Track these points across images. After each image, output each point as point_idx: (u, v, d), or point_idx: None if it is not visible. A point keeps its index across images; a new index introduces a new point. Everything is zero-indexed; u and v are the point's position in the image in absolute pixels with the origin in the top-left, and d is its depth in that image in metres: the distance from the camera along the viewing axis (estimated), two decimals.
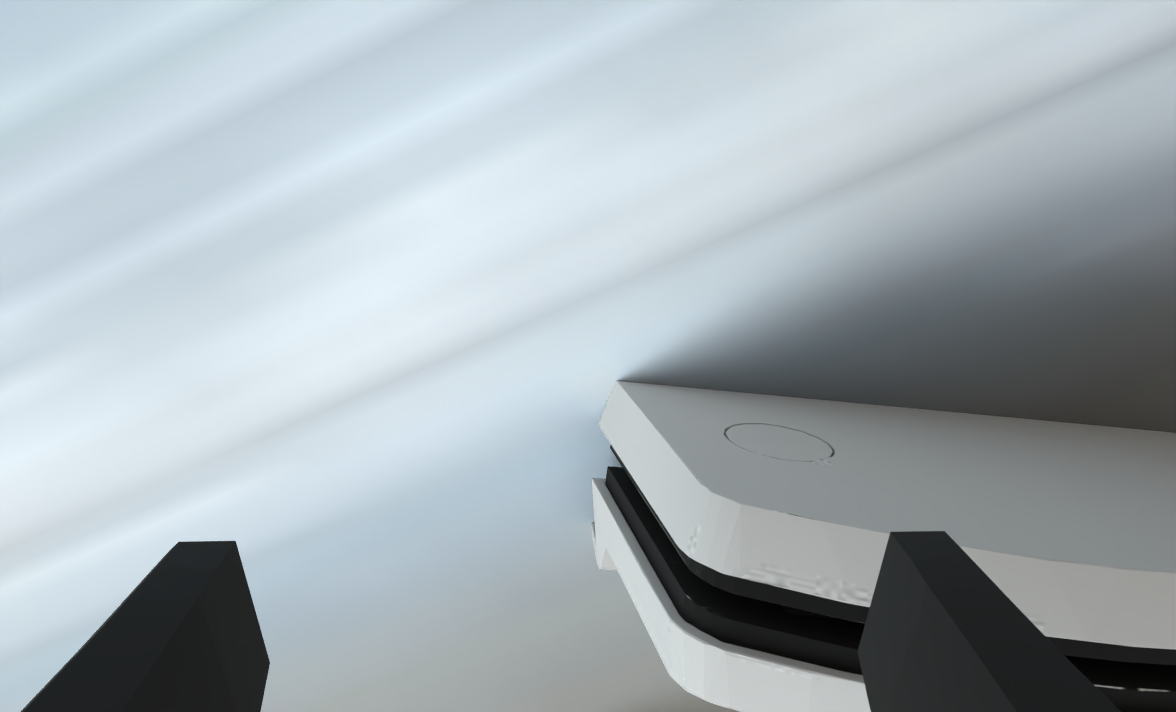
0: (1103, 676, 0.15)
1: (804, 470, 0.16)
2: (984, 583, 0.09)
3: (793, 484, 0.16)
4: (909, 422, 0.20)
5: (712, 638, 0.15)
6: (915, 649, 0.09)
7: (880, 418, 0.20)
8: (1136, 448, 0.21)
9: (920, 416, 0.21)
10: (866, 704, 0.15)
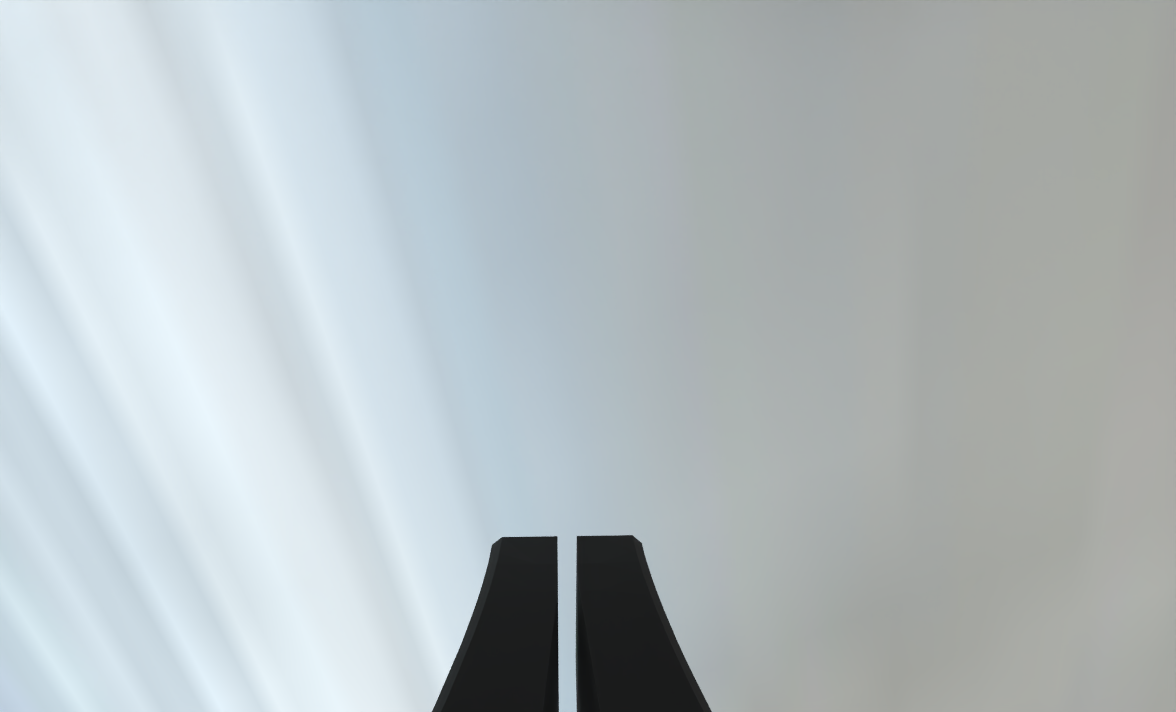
0: None
1: None
2: (637, 589, 0.09)
3: None
4: None
5: None
6: (579, 655, 0.09)
7: None
8: None
9: None
10: None
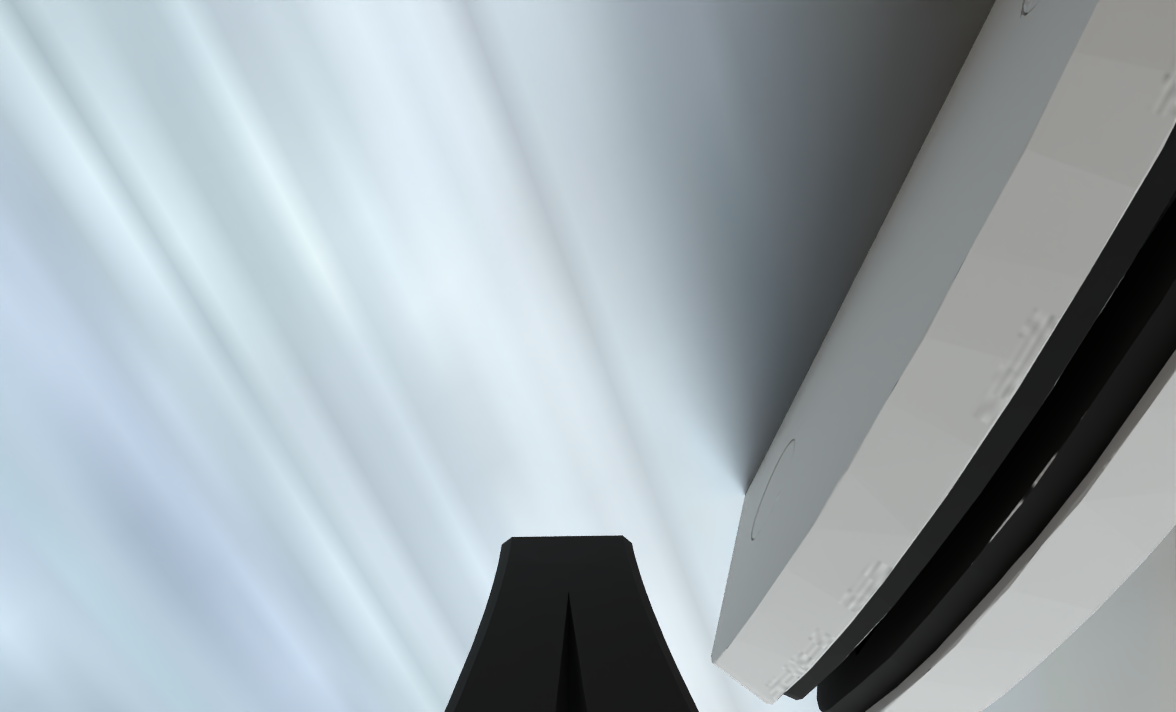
0: (1012, 497, 0.12)
1: (762, 536, 0.17)
2: (626, 589, 0.09)
3: (747, 579, 0.16)
4: (857, 291, 0.18)
5: None
6: (569, 656, 0.09)
7: (843, 315, 0.18)
8: (994, 30, 0.15)
9: (870, 257, 0.18)
10: (933, 696, 0.14)
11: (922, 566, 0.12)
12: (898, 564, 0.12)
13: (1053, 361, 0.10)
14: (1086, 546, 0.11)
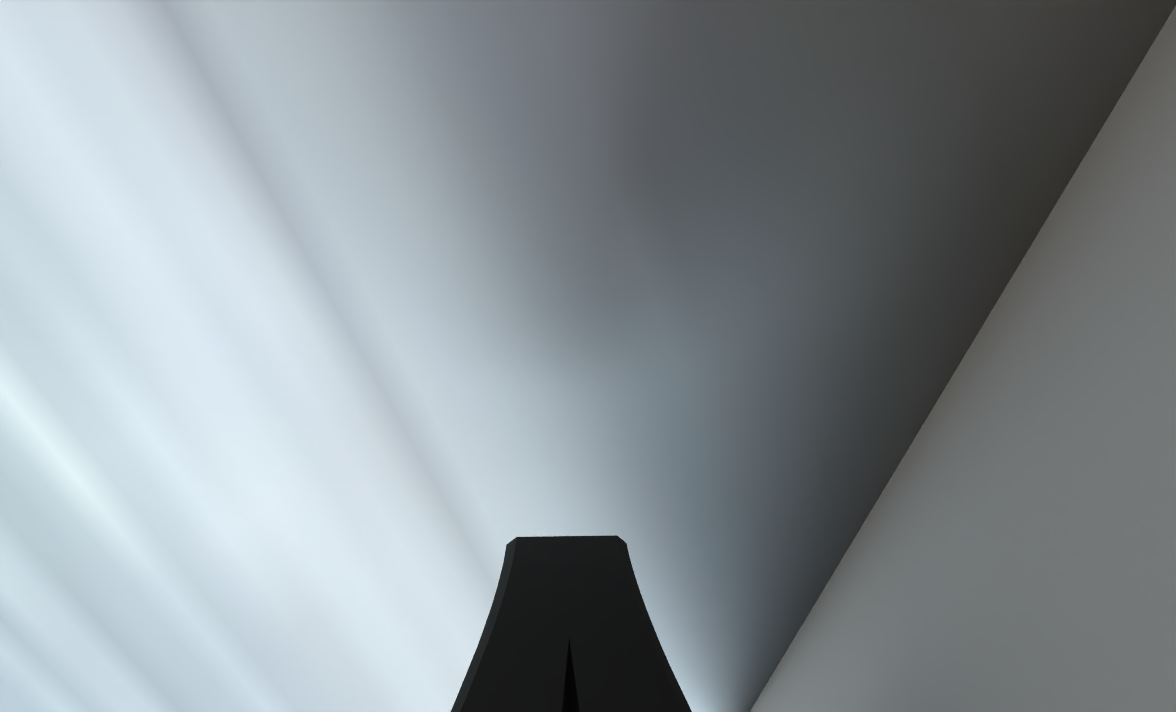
0: None
1: None
2: (620, 589, 0.09)
3: None
4: (884, 542, 0.12)
5: None
6: None
7: (865, 568, 0.13)
8: (1108, 207, 0.09)
9: (902, 487, 0.13)
10: None
11: None
12: None
13: None
14: None
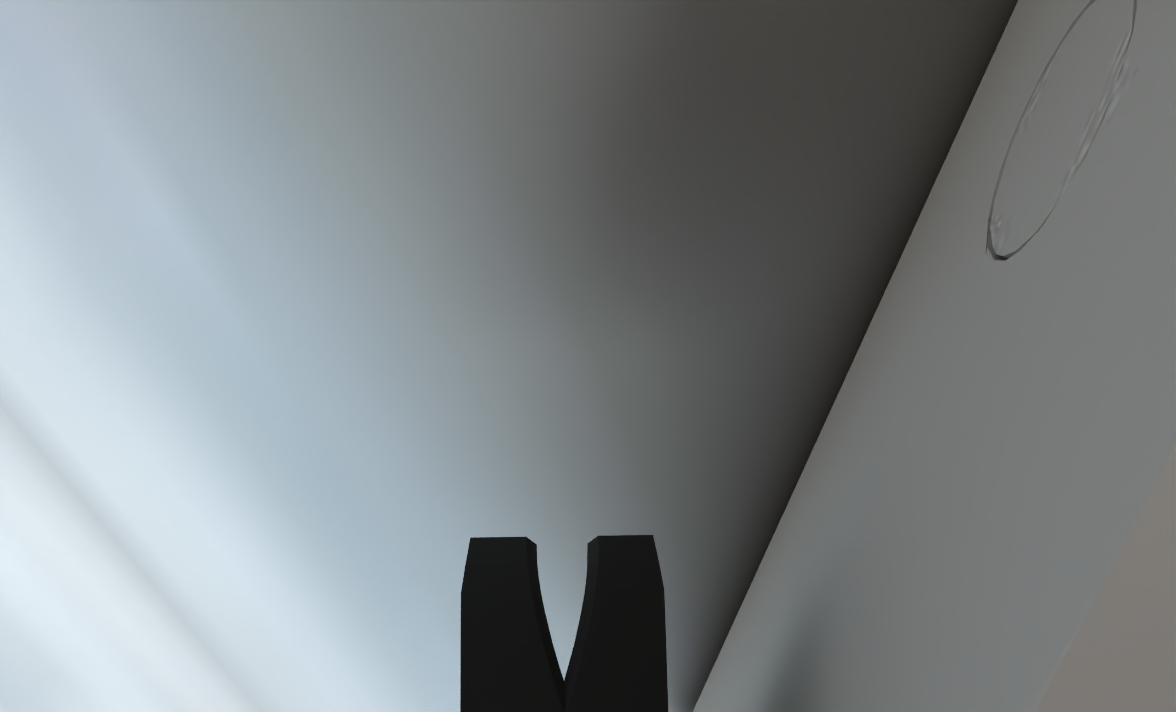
0: None
1: None
2: (519, 590, 0.09)
3: None
4: (780, 562, 0.12)
5: None
6: None
7: (766, 588, 0.13)
8: (947, 227, 0.09)
9: (798, 506, 0.13)
10: None
11: None
12: None
13: None
14: None
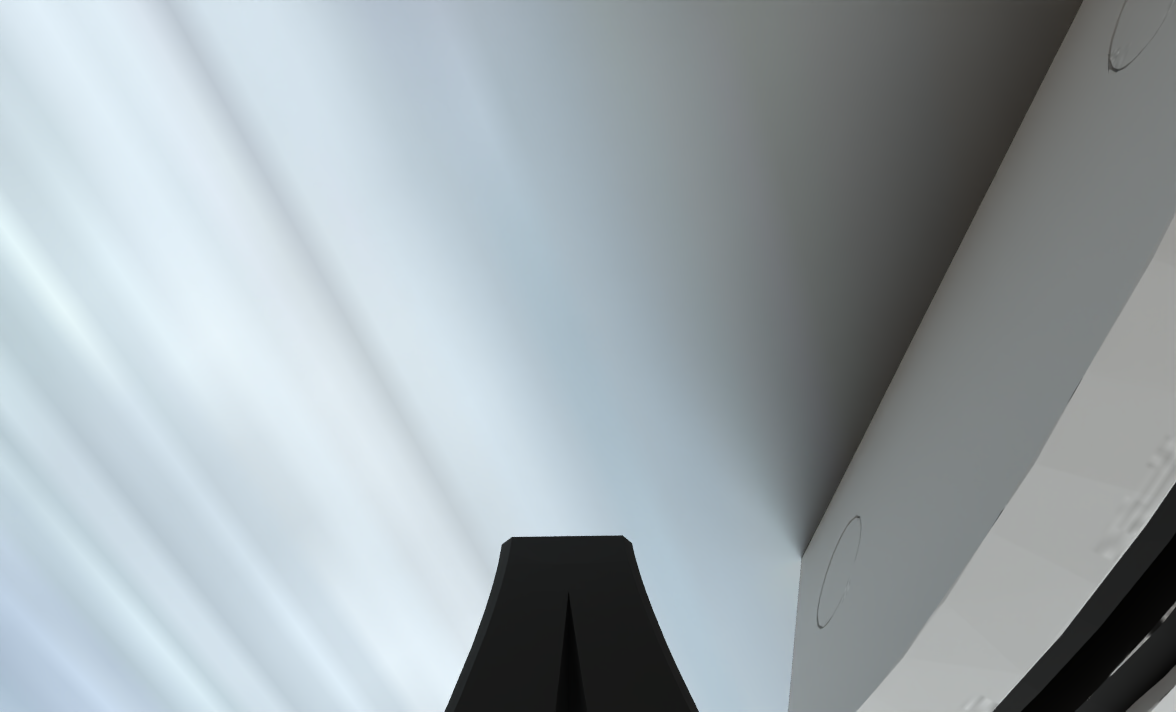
0: (1135, 625, 0.10)
1: (833, 631, 0.15)
2: (626, 589, 0.09)
3: (820, 681, 0.15)
4: (920, 354, 0.17)
5: None
6: (569, 655, 0.09)
7: (906, 379, 0.17)
8: (1069, 77, 0.13)
9: (932, 315, 0.17)
10: None
11: (1030, 698, 0.11)
12: None
13: None
14: None
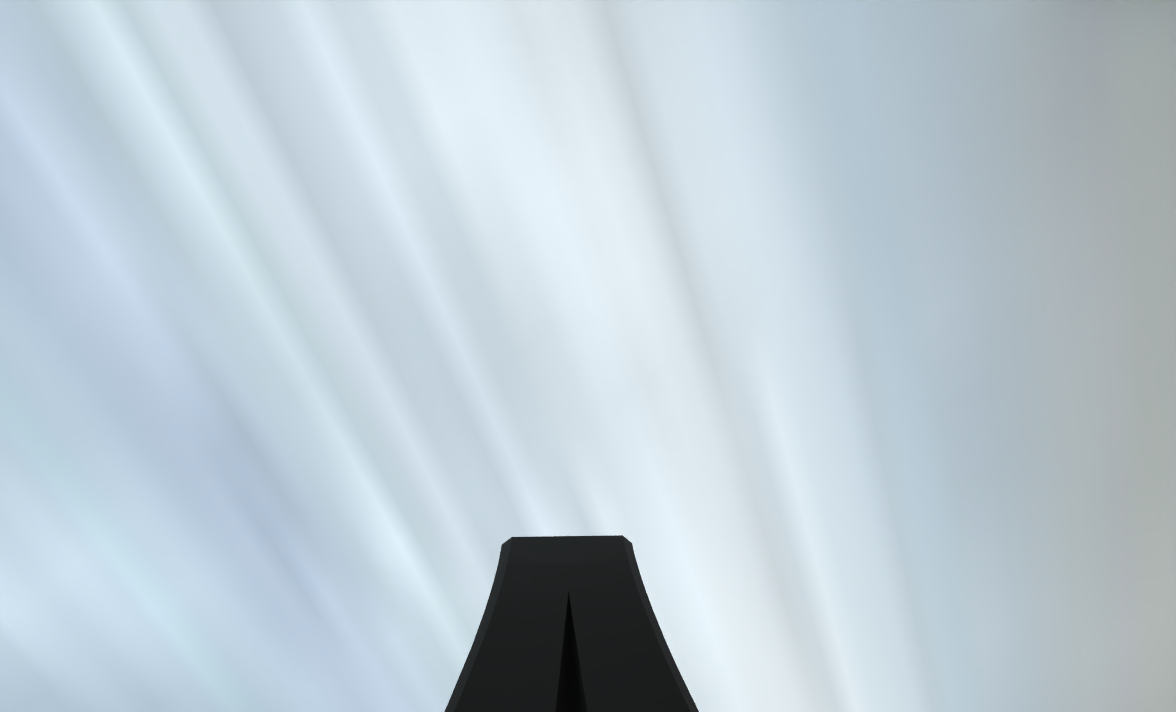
0: None
1: None
2: (626, 589, 0.09)
3: None
4: None
5: None
6: (569, 655, 0.09)
7: None
8: None
9: None
10: None
11: None
12: None
13: None
14: None
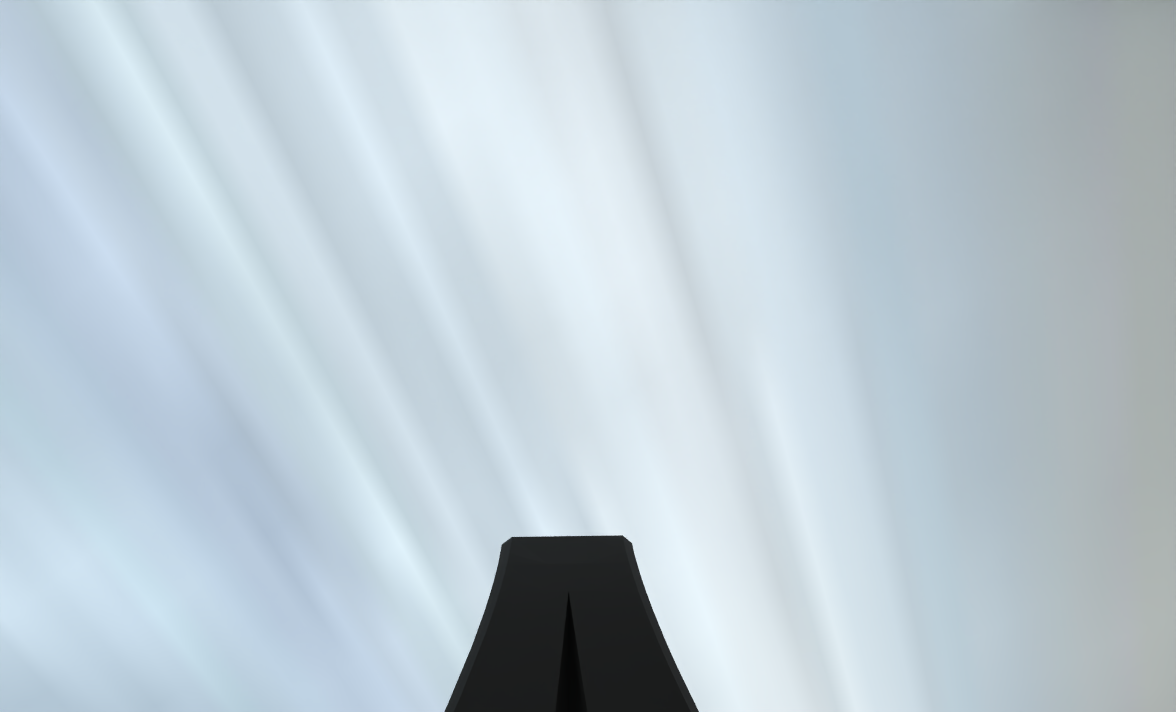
0: None
1: None
2: (626, 589, 0.09)
3: None
4: None
5: None
6: (569, 655, 0.09)
7: None
8: None
9: None
10: None
11: None
12: None
13: None
14: None
